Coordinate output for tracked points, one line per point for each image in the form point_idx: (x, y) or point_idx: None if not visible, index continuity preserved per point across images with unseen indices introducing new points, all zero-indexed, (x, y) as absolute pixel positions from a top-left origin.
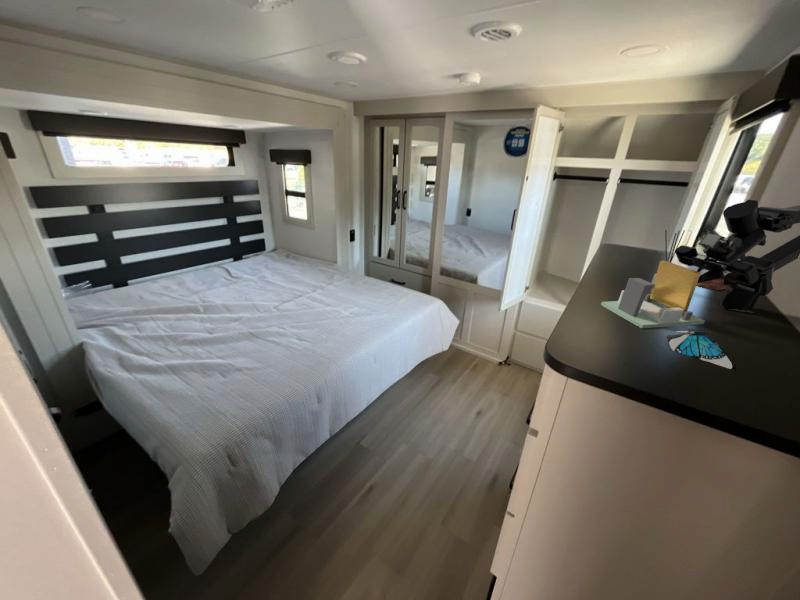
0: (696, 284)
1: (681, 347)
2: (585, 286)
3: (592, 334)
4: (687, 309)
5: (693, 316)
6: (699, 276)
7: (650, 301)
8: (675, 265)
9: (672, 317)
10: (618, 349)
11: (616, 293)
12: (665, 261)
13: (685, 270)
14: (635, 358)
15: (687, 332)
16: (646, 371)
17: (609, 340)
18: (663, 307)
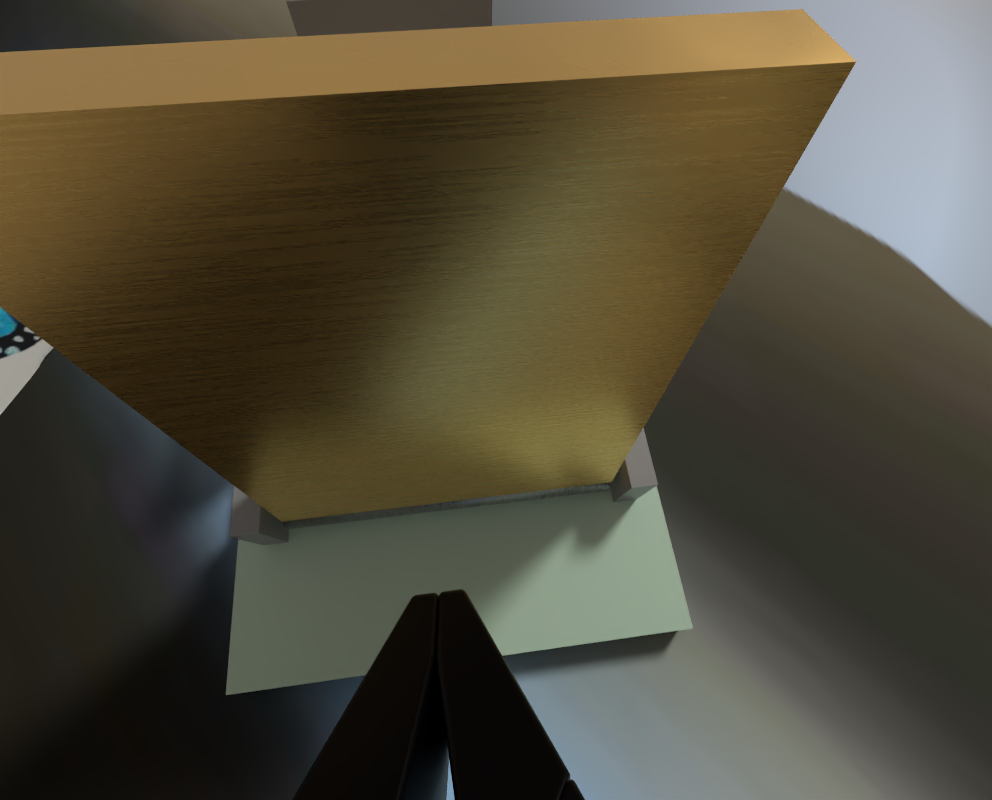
0: (65, 355)
1: None
2: (891, 255)
3: (273, 3)
4: (267, 507)
5: (310, 652)
6: (299, 791)
7: (612, 496)
8: (449, 48)
9: None
10: (151, 20)
11: (805, 393)
12: (774, 54)
13: (149, 66)
14: (81, 34)
15: None
16: (7, 19)
17: (216, 28)
18: (496, 517)
